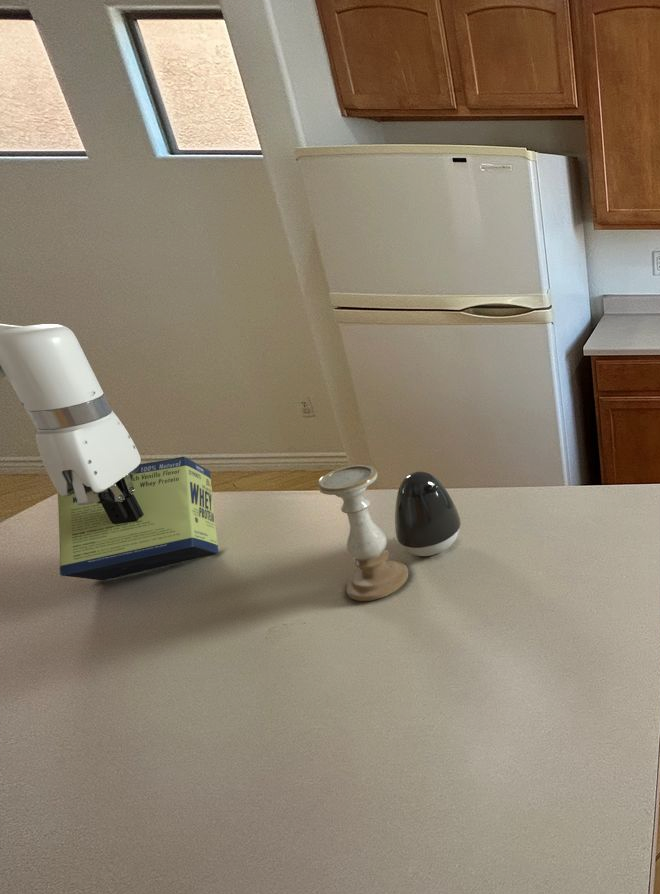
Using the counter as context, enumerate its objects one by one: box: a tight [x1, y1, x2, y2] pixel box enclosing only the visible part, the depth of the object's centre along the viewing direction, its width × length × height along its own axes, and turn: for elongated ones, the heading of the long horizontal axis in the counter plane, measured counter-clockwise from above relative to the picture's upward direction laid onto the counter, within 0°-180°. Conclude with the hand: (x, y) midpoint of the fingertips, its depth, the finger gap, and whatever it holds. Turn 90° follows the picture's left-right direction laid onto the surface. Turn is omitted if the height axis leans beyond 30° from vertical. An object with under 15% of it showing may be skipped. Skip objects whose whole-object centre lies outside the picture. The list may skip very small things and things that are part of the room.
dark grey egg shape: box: [394, 470, 462, 557], centre depth 97 cm, size 10×10×15 cm
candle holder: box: [317, 464, 409, 602], centre depth 87 cm, size 9×9×20 cm
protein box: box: [57, 456, 220, 581], centre depth 91 cm, size 10×16×16 cm
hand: (128, 519), depth 86 cm, fingers closed
